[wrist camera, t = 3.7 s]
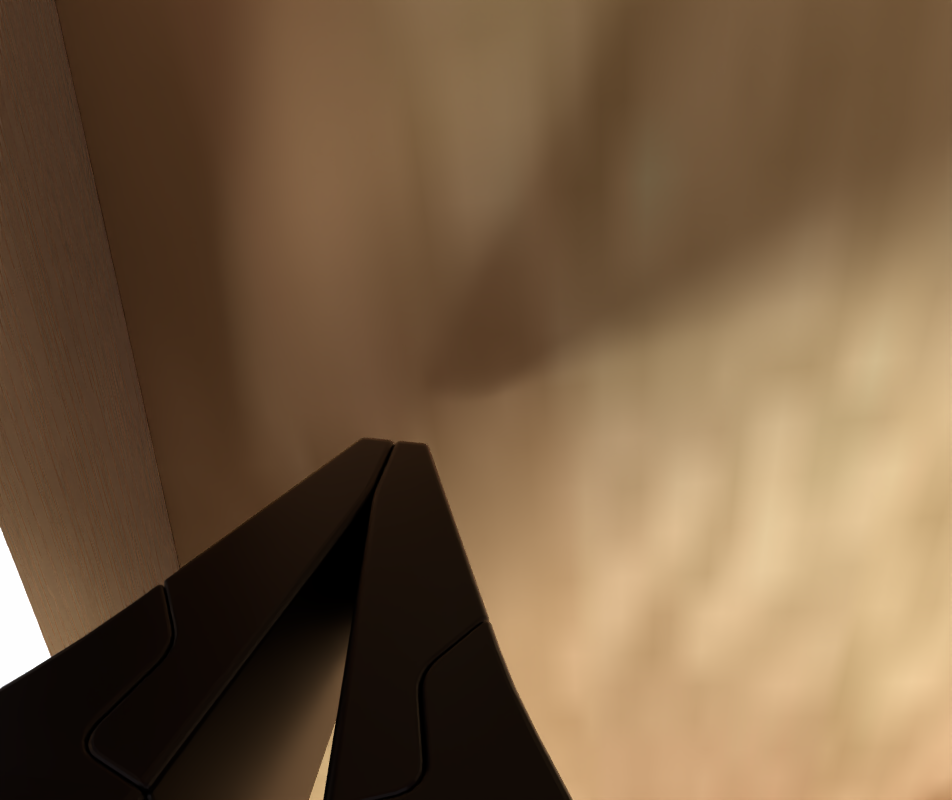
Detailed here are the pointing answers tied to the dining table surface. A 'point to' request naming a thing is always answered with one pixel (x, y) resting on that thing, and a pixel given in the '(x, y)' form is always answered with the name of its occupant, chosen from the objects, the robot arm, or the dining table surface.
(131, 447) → the grey square frame
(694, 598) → the dining table surface
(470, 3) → the dining table surface
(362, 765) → the robot arm
